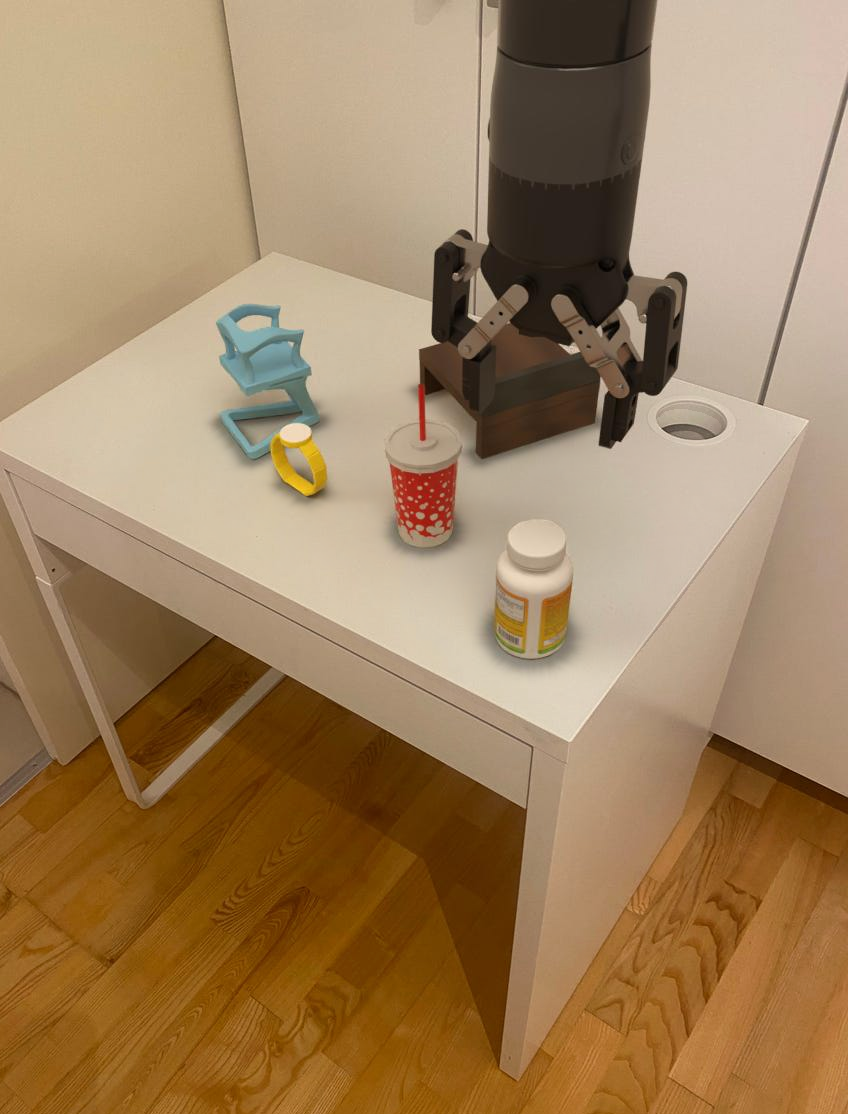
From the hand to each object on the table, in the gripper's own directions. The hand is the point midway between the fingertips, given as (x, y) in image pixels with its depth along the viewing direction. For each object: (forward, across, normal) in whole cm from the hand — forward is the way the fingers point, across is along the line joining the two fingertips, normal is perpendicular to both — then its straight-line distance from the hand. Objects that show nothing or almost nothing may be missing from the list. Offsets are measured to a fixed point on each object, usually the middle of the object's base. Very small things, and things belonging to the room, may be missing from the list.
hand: (544, 422), depth 61 cm
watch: (+19, +26, -7) cm, 33 cm away
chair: (+19, +33, -14) cm, 41 cm away
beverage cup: (+19, +13, -7) cm, 24 cm away
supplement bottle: (+19, 0, 0) cm, 19 cm away
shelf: (+19, +15, -27) cm, 36 cm away
